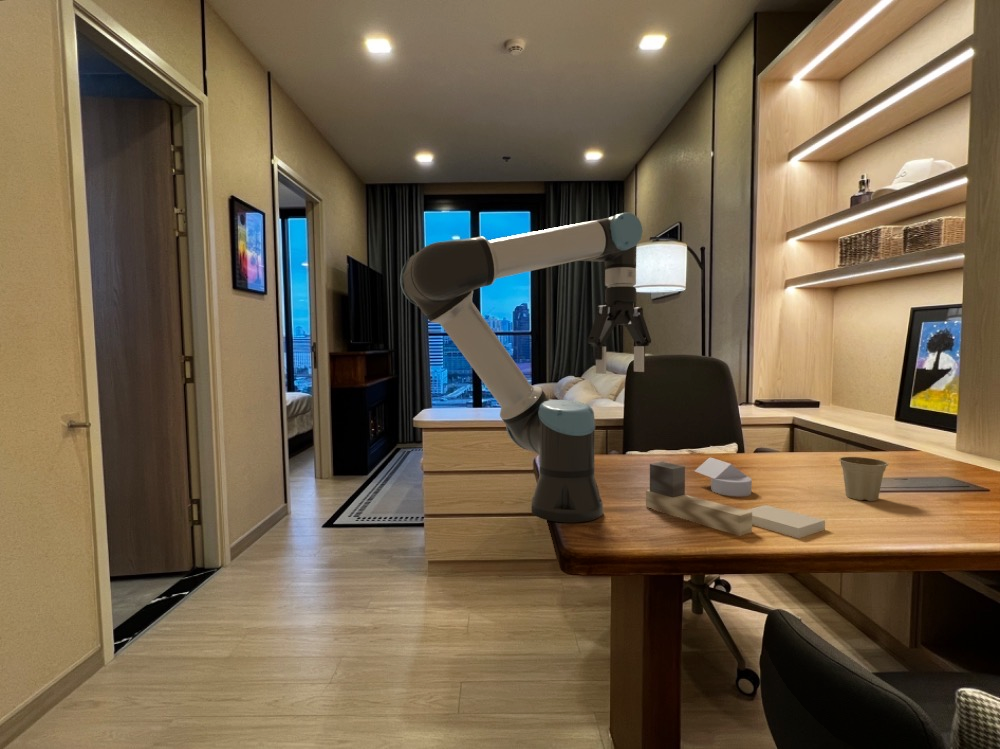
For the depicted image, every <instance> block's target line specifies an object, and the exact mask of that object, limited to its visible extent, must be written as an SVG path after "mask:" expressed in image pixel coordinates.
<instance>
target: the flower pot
mask: <svg viewBox="0 0 1000 749" xmlns="http://www.w3.org/2000/svg"><path fill="white" fill-rule="evenodd" d="M838 461H839V462H840V466H841V467H842V475H843V482H844V490H845V495H846V497H848V498H850V499H853V500H857V501H864V500H866V501H868V502H874V501H877V500H879V495H880V491H881V486H882V482H883V476H884V473H885V471H886V469H887V466H889V463H888V462H887V461H885V460H880V459H878V458H877V459H876V458H870V457H862V456H841V457H839V458H838Z"/></svg>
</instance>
